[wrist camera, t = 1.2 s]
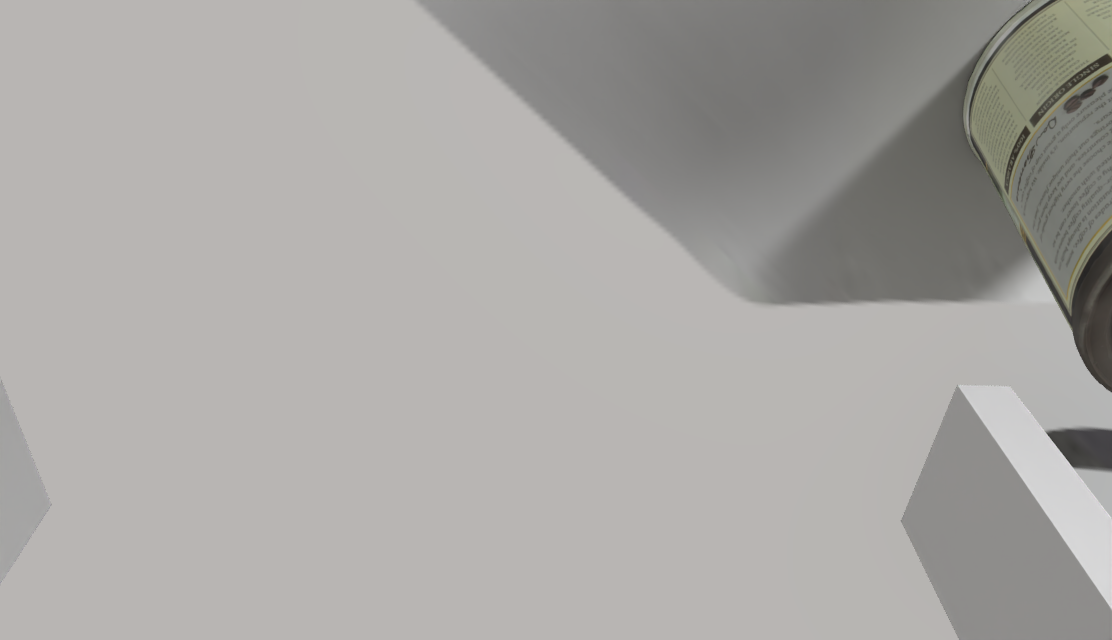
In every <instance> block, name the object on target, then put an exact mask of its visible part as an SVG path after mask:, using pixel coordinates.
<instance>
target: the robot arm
mask: <svg viewBox="0 0 1112 640" xmlns="http://www.w3.org/2000/svg"><path fill="white" fill-rule="evenodd" d="M50 506H51V502H50V500H49V497H48V495H47V493H46V490H45V487H44V485H43V483H42V480H41V478H40V475H39V472H38V470H37V468H36V465H35V463H34V460H33V458H32V455H31V453H30V450H29V448H28V445H27V443H26V440H25V438H24V435H23V433H22V430H21V428H20V425H19V423H18V420H17V418H16V415H15V413H14V411H13V408H12V405H11V403H10V400H9V398H8V395H7V393H6V390H5V388H4V386H3V383H2V381H1V378H0V584H1V582H2V581H3V579H4V578H5V576H6V574H7V573H8V572H9V570H10V568H11V567H12V565H13V564H14V562H15V561H16V559H17V558H18V556H19V555H20V553H21V551H22V550H23V548H24V547H25V545H26V544H27V542H28V541H29V539H30V537H31V536H32V534H33V533H34V531H35V530H36V528H37V527H38V525H39V523H40V522H41V520H42V519H43V517H44V516H45V514H46V512H47V511H48V509H49V508H50ZM901 522H902V524H903V526H904V528H905V530H906V532H907V534H908V536H909V538H910V540H911V542H912V544H913V547H914V549H915V551H916V552H917V555H918V557H919V559H920V561H921V563H922V565H923V567H924V569H925V571H926V573H927V575H928V577H929V579H930V581H931V583H932V585H933V587H934V589H935V591H936V594H937V596H938V598H939V599H940V602H941V604H942V606H943V608H944V610H945V612H946V614H947V616H948V618H949V620H950V622H951V624H952V626H953V628H954V630H955V632H956V634H957V636H958V638H959V640H1112V518H1111V517H1110V516H1109V514H1108V513H1107V512H1106V510H1105V509H1104V508H1103V506H1102V505H1101V504H1100V503H1099V501H1098V500H1097V499H1096V498H1095V496H1094V495H1093V494H1092V492H1091V491H1090V490H1089V488H1088V487H1087V486H1086V485H1085V483H1084V482H1083V480H1082V479H1081V478H1080V477H1079V475H1078V474H1077V473H1076V472H1075V470H1074V469H1073V468H1072V466H1071V465H1070V464H1069V462H1068V461H1067V460H1066V458H1065V457H1064V456H1063V455H1062V453H1061V452H1060V451H1059V449H1058V448H1057V447H1056V445H1055V444H1054V443H1053V442H1052V440H1051V439H1050V438H1049V436H1048V435H1047V434H1046V432H1045V431H1044V430H1043V429H1042V427H1041V426H1040V425H1039V423H1038V422H1037V421H1036V420H1035V418H1034V417H1033V416H1032V414H1031V413H1030V412H1029V411H1028V409H1027V408H1026V406H1025V405H1024V404H1023V403H1022V401H1021V400H1020V399H1019V397H1018V396H1017V395H1016V394H1015V392H1014V391H1013V390H1012V388H1011V387H1010V386H975V385H957V387H956V389H955V392H954V394H953V397H952V399H951V402H950V404H949V406H948V409H947V411H946V413H945V416H944V418H943V421H942V423H941V426H940V428H939V431H938V433H937V435H936V438H935V440H934V442H933V445H932V447H931V450H930V452H929V455H928V457H927V459H926V462H925V464H924V467H923V469H922V471H921V474H920V476H919V479H918V481H917V483H916V486H915V488H914V491H913V493H912V496H911V498H910V500H909V503H908V505H907V507H906V510H905V512H904V515H903V517H902V520H901Z"/></svg>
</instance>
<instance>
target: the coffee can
mask: <svg viewBox="0 0 1112 640" xmlns="http://www.w3.org/2000/svg"><path fill="white" fill-rule="evenodd" d="M963 122H964V129H965V133H966V136H967V140H968V142H969V145H970V147H971V149H972V150H973V152H974V154H975V156H976V157H977V158H978V159H979V160H980V161H981V163H982V164H983V166H984V168H985V170H986V172H987V174H988V176H989V177H990V179H991V181H992V183H993V185H994V187H995V189H996V190H997V192H998V194H999V196H1000V198H1001V200H1002V202H1003V203H1004V205H1005V207H1006V209H1007V211H1008V213H1009V214H1010V216H1011V218H1012V220H1013V222H1014V224H1015V226H1016V228H1017V230H1018V232H1019V234H1020V236H1021V237H1022V239H1023V241H1024V243H1025V245H1026V247H1027V249H1028V250H1029V252H1030V254H1031V256H1032V257H1033V259H1034V261H1035V263H1036V265H1037V266H1038V268H1039V270H1040V272H1041V274H1042V276H1043V278H1044V279H1045V281H1046V283H1047V285H1048V287H1049V289H1050V291H1051V292H1052V294H1053V296H1054V298H1055V300H1056V302H1057V304H1058V306H1059V308H1060V309H1061V311H1062V313H1063V315H1064V317H1065V319H1066V320H1067V322H1068V324H1069V326H1070V328H1071V330H1072V332H1073V336H1074V340H1075V344H1076V347H1077V349H1078V352H1079V354H1080V356H1081V358H1082V360H1083V362H1084V364H1085V366H1086V367H1087V369H1088V370H1089V371H1090V373H1091V374H1092V376H1093V377H1094V378H1095V379H1096V380H1097V381H1098V382H1099V383H1100V384H1102V385H1103V386H1104V387H1105V388H1106V389H1108V390H1109V391H1111V392H1112V0H1033V1H1032V2H1031V3H1029V4H1028V5H1027V6H1026V7H1025V8H1024V9H1023V10H1022V11H1020V12H1019V13H1017V14H1016V15H1015V16H1014V17H1013V18H1012V19H1011V20H1009V21H1008V22H1007V24H1006V25H1005V26H1004V27H1003V28H1002V29H1001V30H1000V31H999V32H998V34H997V35H996V36H995V37H994V38H993V40H992V41H991V42H990V44H989V45H988V46H987V48H986V49H985V51H984V52H983V54H982V56H981V57H980V59H979V61H978V63H977V65H976V67H975V69H974V72H973V74H972V75H971V77H970V79H969V82H968V86H967V92H966V96H965V100H964V109H963Z"/></svg>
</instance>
